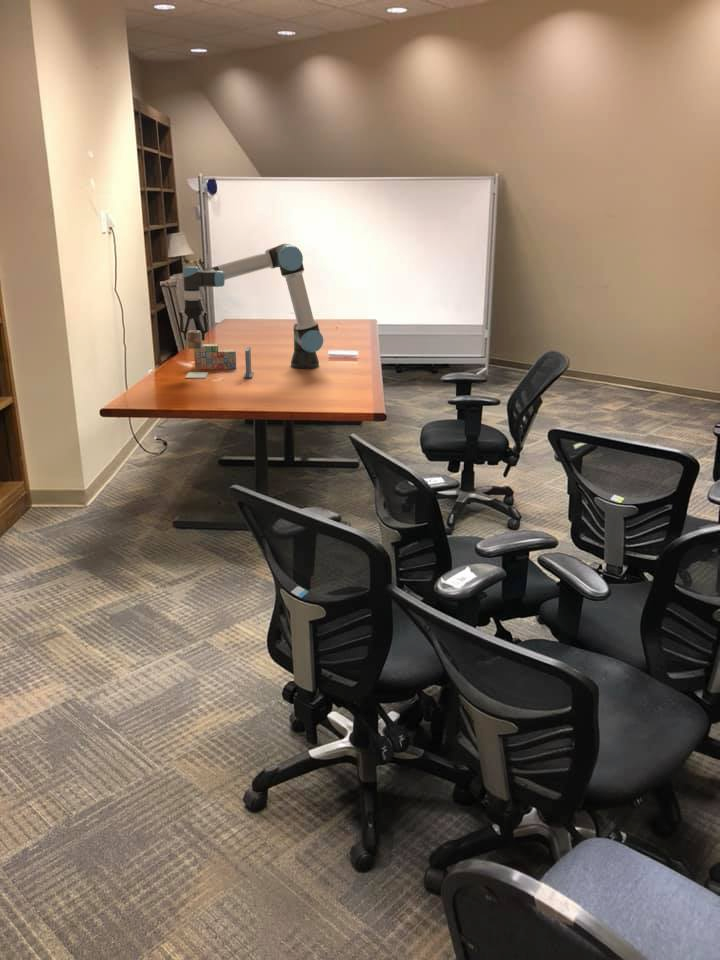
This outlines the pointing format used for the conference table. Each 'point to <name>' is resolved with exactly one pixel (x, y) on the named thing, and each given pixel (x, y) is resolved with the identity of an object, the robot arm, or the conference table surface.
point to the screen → (248, 364)
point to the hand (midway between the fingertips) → (195, 346)
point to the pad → (197, 375)
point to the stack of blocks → (214, 358)
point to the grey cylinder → (194, 339)
